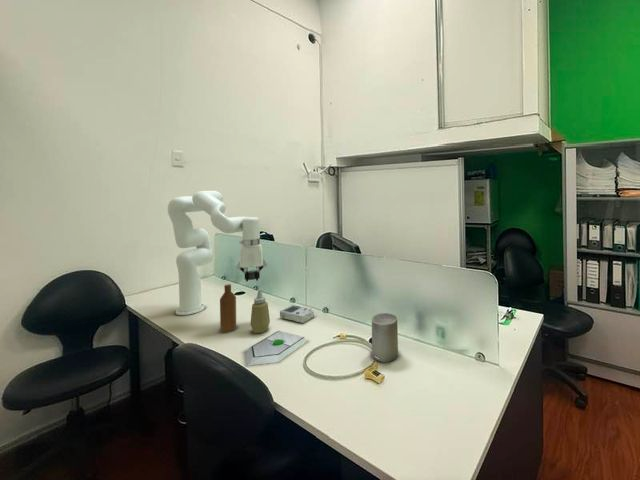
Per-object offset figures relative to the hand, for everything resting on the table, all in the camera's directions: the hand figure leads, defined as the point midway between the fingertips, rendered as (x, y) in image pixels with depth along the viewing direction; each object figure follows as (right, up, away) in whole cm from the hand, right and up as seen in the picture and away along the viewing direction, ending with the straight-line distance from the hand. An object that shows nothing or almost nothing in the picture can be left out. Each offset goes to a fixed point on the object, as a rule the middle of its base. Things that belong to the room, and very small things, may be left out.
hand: (252, 280), depth 143 cm
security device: (+20, -19, -28) cm, 40 cm away
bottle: (-6, -19, -10) cm, 23 cm away
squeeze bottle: (+9, -19, -12) cm, 24 cm away
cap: (0, +1, 0) cm, 1 cm away
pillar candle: (+64, -18, -33) cm, 74 cm away
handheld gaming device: (+22, -19, +1) cm, 29 cm away
